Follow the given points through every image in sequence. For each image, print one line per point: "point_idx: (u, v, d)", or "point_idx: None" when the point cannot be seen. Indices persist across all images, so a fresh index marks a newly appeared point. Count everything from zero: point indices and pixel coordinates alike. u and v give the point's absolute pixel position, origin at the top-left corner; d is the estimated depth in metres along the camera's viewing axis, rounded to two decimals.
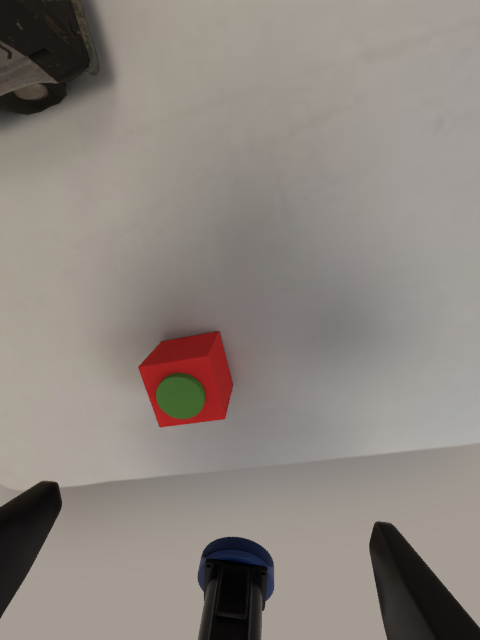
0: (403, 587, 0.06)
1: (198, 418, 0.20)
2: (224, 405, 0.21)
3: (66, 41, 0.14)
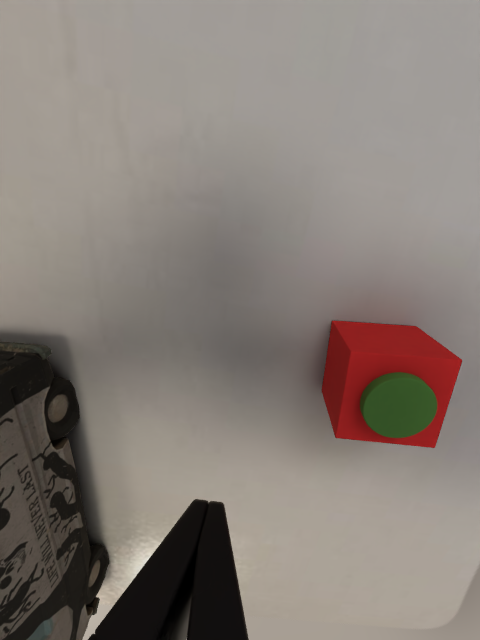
0: (195, 558, 0.07)
1: (444, 395, 0.14)
2: (439, 352, 0.14)
3: (11, 368, 0.16)
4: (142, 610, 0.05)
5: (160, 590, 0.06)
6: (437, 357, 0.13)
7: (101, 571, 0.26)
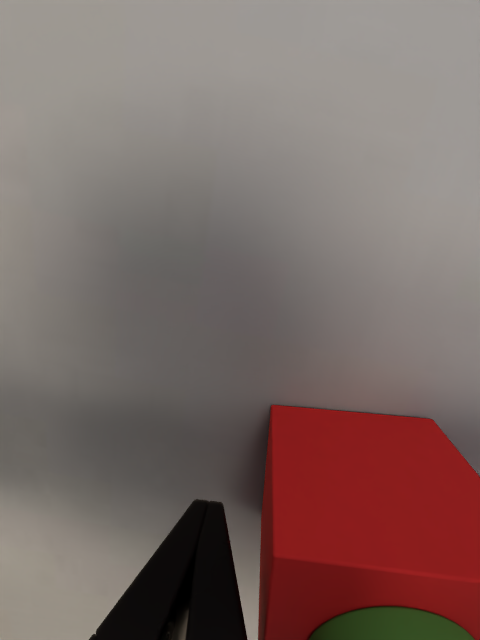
0: (194, 558, 0.07)
1: None
2: None
3: None
4: (143, 610, 0.05)
5: (161, 590, 0.06)
6: None
7: None
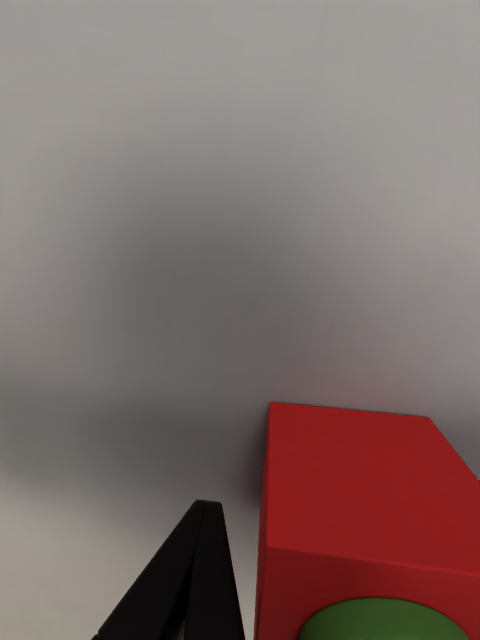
0: (193, 557, 0.07)
1: None
2: None
3: None
4: (145, 610, 0.05)
5: (163, 590, 0.06)
6: None
7: None
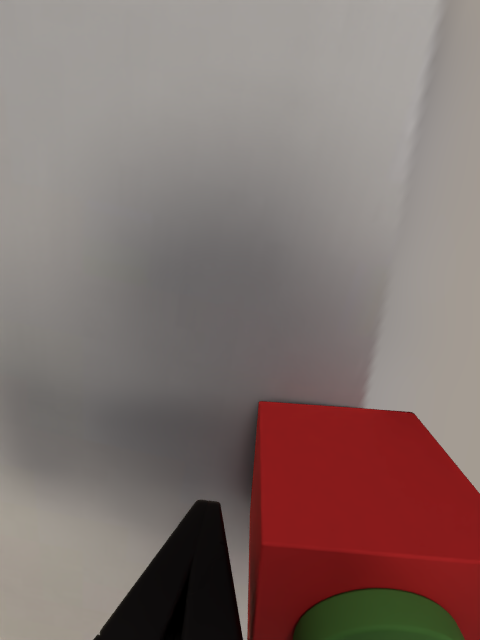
0: (191, 557, 0.07)
1: None
2: (476, 526, 0.06)
3: None
4: (147, 611, 0.05)
5: (164, 591, 0.06)
6: (477, 558, 0.05)
7: None
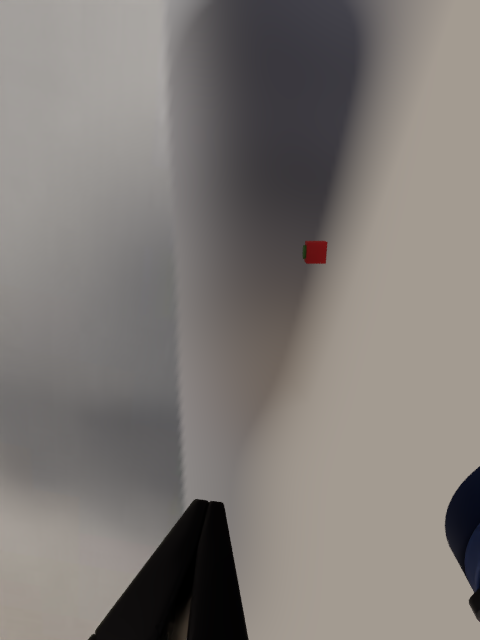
0: (195, 558, 0.07)
1: (306, 250, 0.67)
2: (310, 242, 0.67)
3: None
4: (142, 610, 0.05)
5: (160, 590, 0.06)
6: None
7: None
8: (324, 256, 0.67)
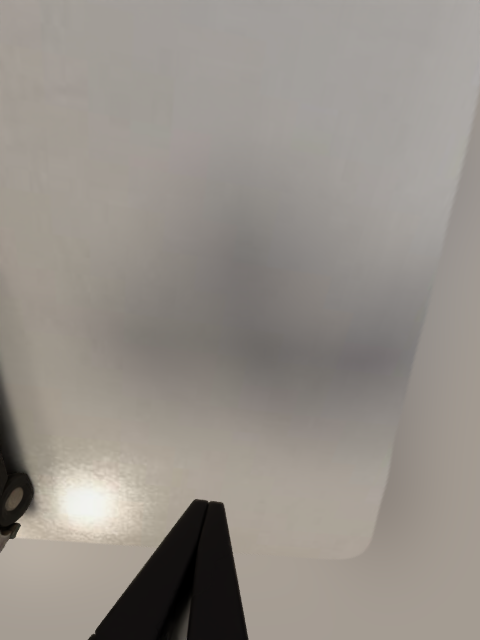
0: (195, 558, 0.07)
1: None
2: None
3: None
4: (142, 610, 0.05)
5: (160, 590, 0.06)
6: None
7: (24, 499, 0.27)
8: None
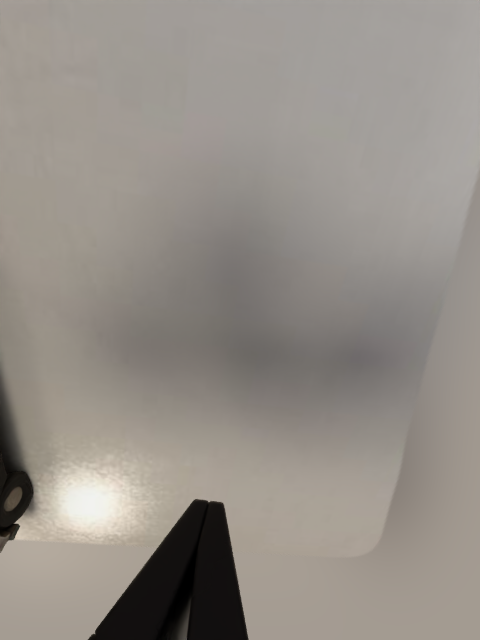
0: (195, 558, 0.07)
1: None
2: None
3: None
4: (142, 610, 0.05)
5: (160, 590, 0.06)
6: None
7: (23, 499, 0.26)
8: None
